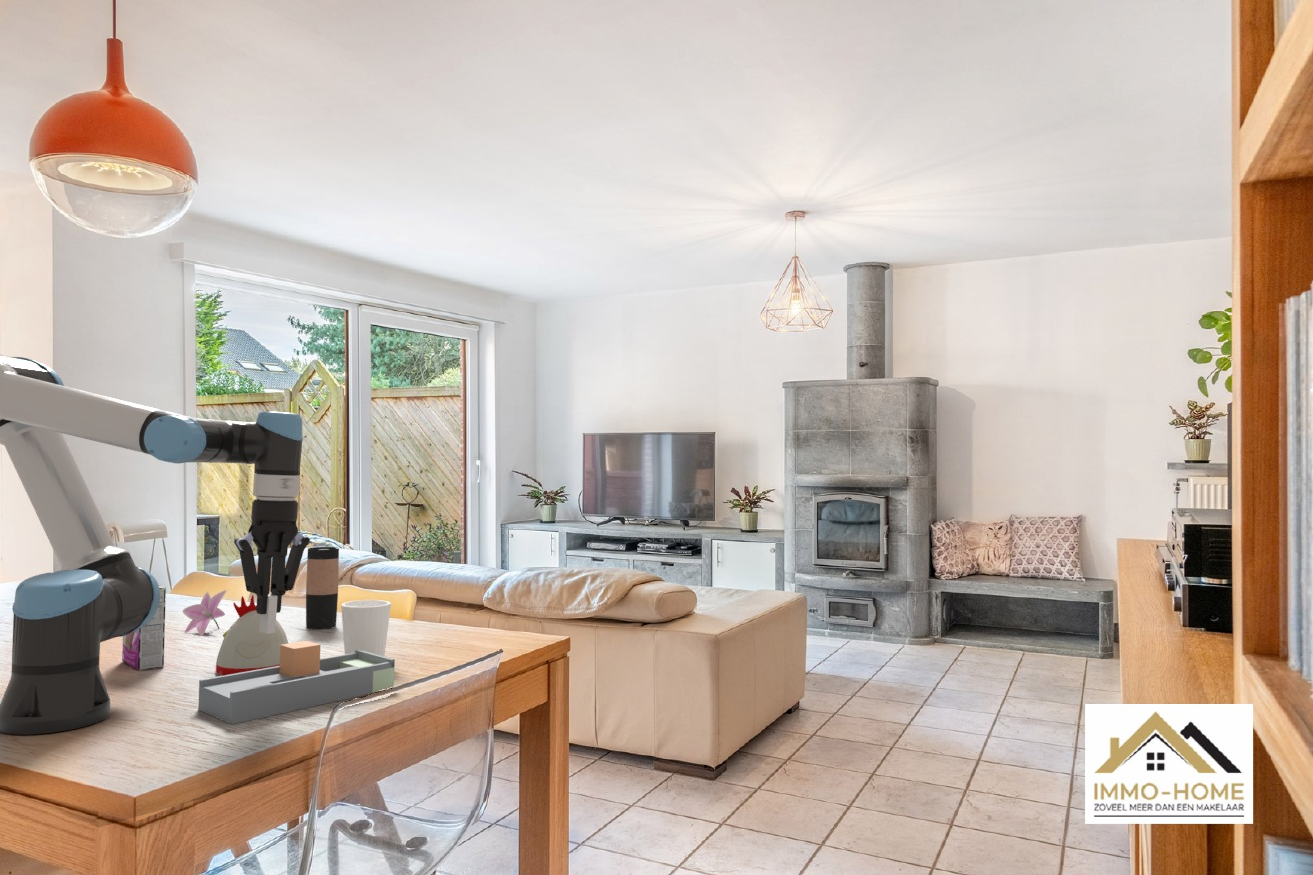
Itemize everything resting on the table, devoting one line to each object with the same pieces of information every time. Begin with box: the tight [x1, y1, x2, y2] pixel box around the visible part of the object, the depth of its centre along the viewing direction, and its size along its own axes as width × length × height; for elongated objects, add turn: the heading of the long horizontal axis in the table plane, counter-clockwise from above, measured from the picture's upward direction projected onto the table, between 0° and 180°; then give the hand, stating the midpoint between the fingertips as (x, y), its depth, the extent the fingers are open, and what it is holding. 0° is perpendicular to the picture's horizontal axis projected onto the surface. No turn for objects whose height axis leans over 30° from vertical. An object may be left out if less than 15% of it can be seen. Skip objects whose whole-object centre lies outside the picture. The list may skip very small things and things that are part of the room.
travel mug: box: [305, 546, 340, 630], centre depth 220 cm, size 8×8×20 cm
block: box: [279, 640, 321, 677], centre depth 156 cm, size 5×5×5 cm
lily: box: [182, 589, 227, 637], centre depth 212 cm, size 12×12×10 cm
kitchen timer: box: [215, 594, 290, 676], centre depth 175 cm, size 14×14×15 cm
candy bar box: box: [121, 584, 167, 672], centre depth 177 cm, size 11×5×16 cm, turn 47°
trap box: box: [197, 650, 396, 725], centre depth 154 cm, size 30×12×6 cm, turn 141°
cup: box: [340, 599, 392, 657], centre depth 180 cm, size 10×10×13 cm
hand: (267, 631), depth 152 cm, fingers closed
